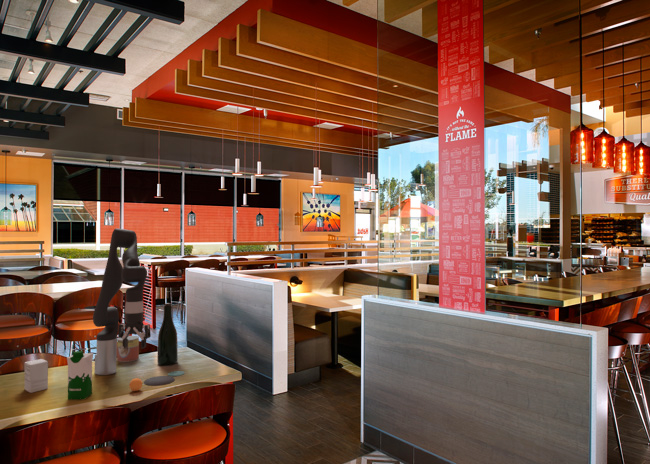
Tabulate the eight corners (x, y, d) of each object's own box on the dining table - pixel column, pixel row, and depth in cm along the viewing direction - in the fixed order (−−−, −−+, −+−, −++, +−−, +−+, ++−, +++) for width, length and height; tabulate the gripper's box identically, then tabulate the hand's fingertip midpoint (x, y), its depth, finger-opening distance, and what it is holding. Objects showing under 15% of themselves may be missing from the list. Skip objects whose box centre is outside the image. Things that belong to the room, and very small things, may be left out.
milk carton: (64, 400, 193) (64, 353, 193) (75, 393, 202) (75, 348, 202) (85, 400, 193) (85, 353, 193) (95, 392, 202) (95, 347, 202)
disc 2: (165, 375, 226) (165, 375, 226) (172, 371, 234) (172, 370, 234) (180, 376, 225) (180, 376, 225) (187, 371, 233) (187, 371, 233)
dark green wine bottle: (161, 360, 254) (162, 301, 254) (180, 360, 253) (180, 301, 253) (154, 366, 243) (154, 304, 243) (173, 366, 243) (173, 304, 243)
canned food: (113, 361, 251) (113, 340, 251) (123, 356, 262) (123, 335, 262) (133, 362, 251) (133, 340, 251) (142, 356, 262) (142, 335, 262)
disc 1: (138, 385, 213) (138, 384, 213) (153, 375, 227) (153, 375, 227) (166, 386, 211) (166, 385, 211) (179, 376, 225) (179, 376, 225)
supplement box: (42, 385, 212) (42, 358, 212) (48, 388, 207) (48, 361, 207) (23, 389, 206) (24, 361, 206) (29, 393, 201) (30, 364, 201)
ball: (126, 392, 202) (126, 380, 203) (133, 388, 208) (133, 376, 208) (138, 393, 202) (138, 380, 202) (144, 389, 207) (144, 376, 207)
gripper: (153, 310, 204) (153, 346, 204) (124, 309, 206) (124, 345, 206) (144, 313, 197) (144, 350, 197) (114, 312, 199) (114, 349, 199)
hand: (134, 347), depth 201 cm, fingers open, 8 cm apart
